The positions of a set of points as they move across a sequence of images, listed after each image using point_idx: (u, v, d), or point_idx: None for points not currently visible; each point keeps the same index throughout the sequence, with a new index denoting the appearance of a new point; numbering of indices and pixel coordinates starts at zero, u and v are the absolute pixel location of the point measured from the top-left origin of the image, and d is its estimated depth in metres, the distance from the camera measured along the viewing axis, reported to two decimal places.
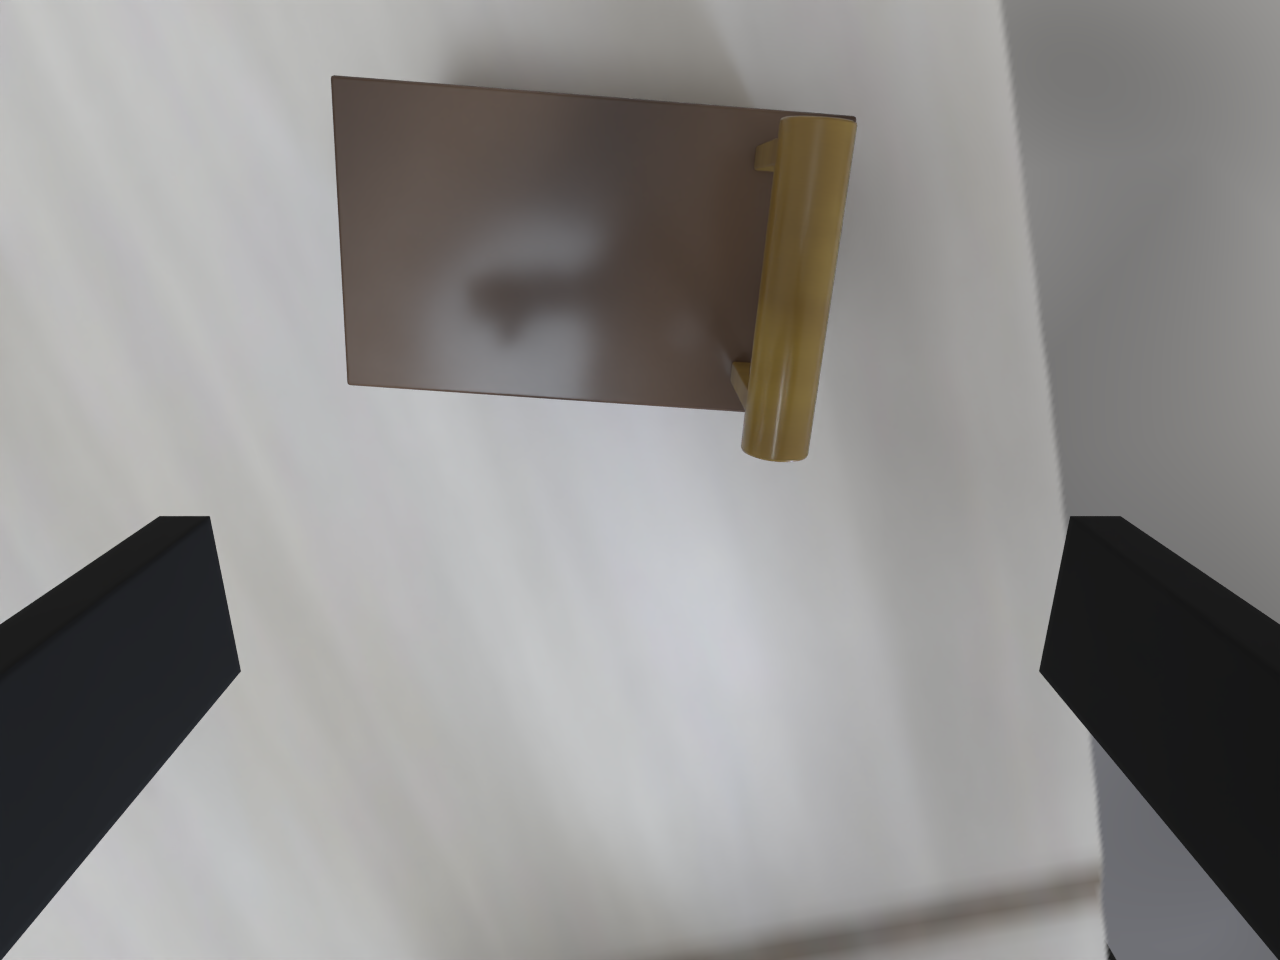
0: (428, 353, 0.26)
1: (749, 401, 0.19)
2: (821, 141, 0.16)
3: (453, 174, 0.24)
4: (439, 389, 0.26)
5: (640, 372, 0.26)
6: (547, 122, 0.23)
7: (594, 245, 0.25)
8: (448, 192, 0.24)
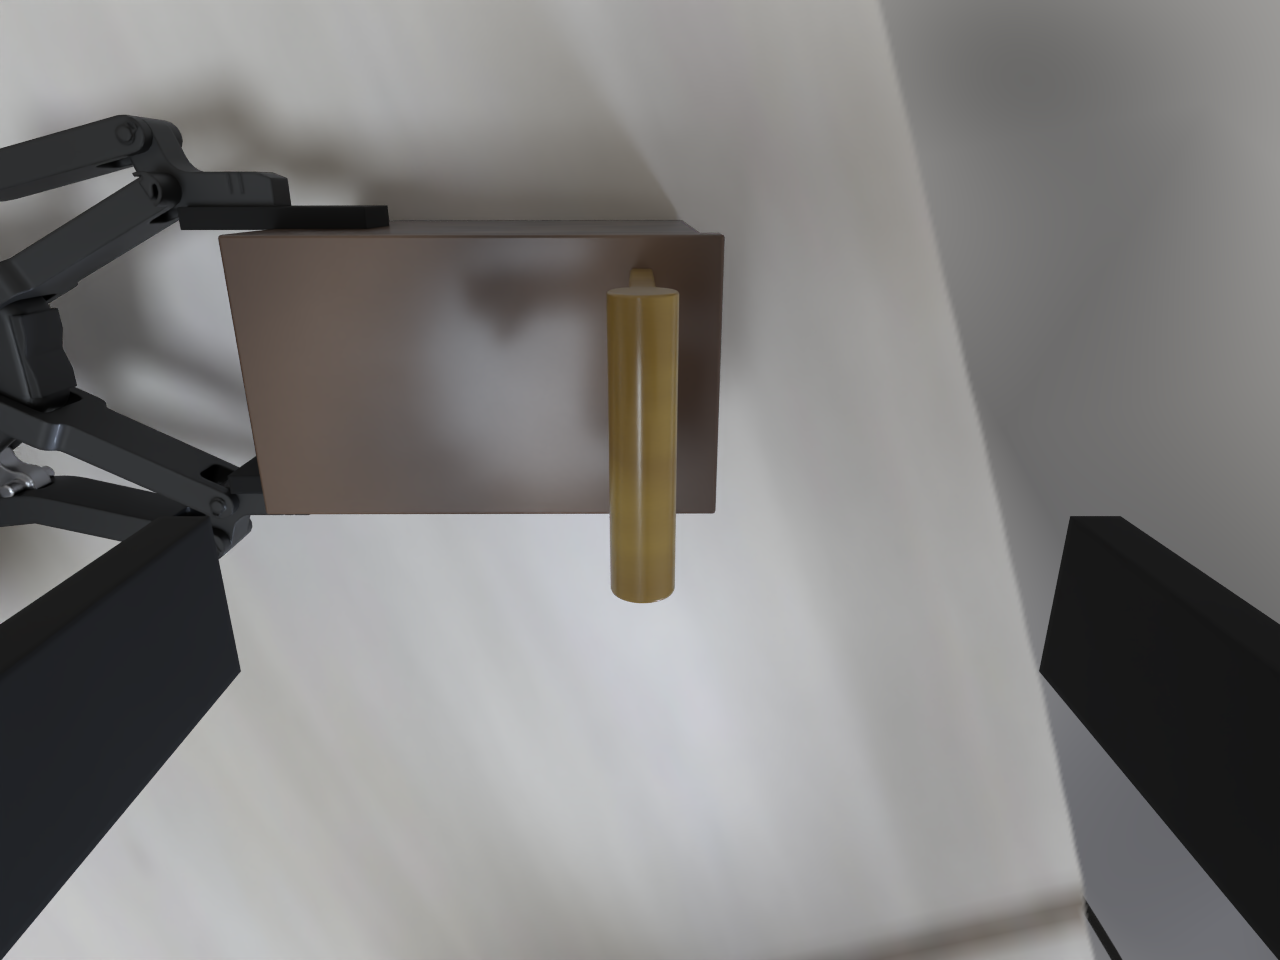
0: (339, 480, 0.27)
1: (611, 546, 0.20)
2: (641, 317, 0.17)
3: (344, 316, 0.25)
4: (354, 512, 0.27)
5: (543, 484, 0.27)
6: (427, 262, 0.24)
7: (486, 371, 0.26)
8: (340, 333, 0.25)
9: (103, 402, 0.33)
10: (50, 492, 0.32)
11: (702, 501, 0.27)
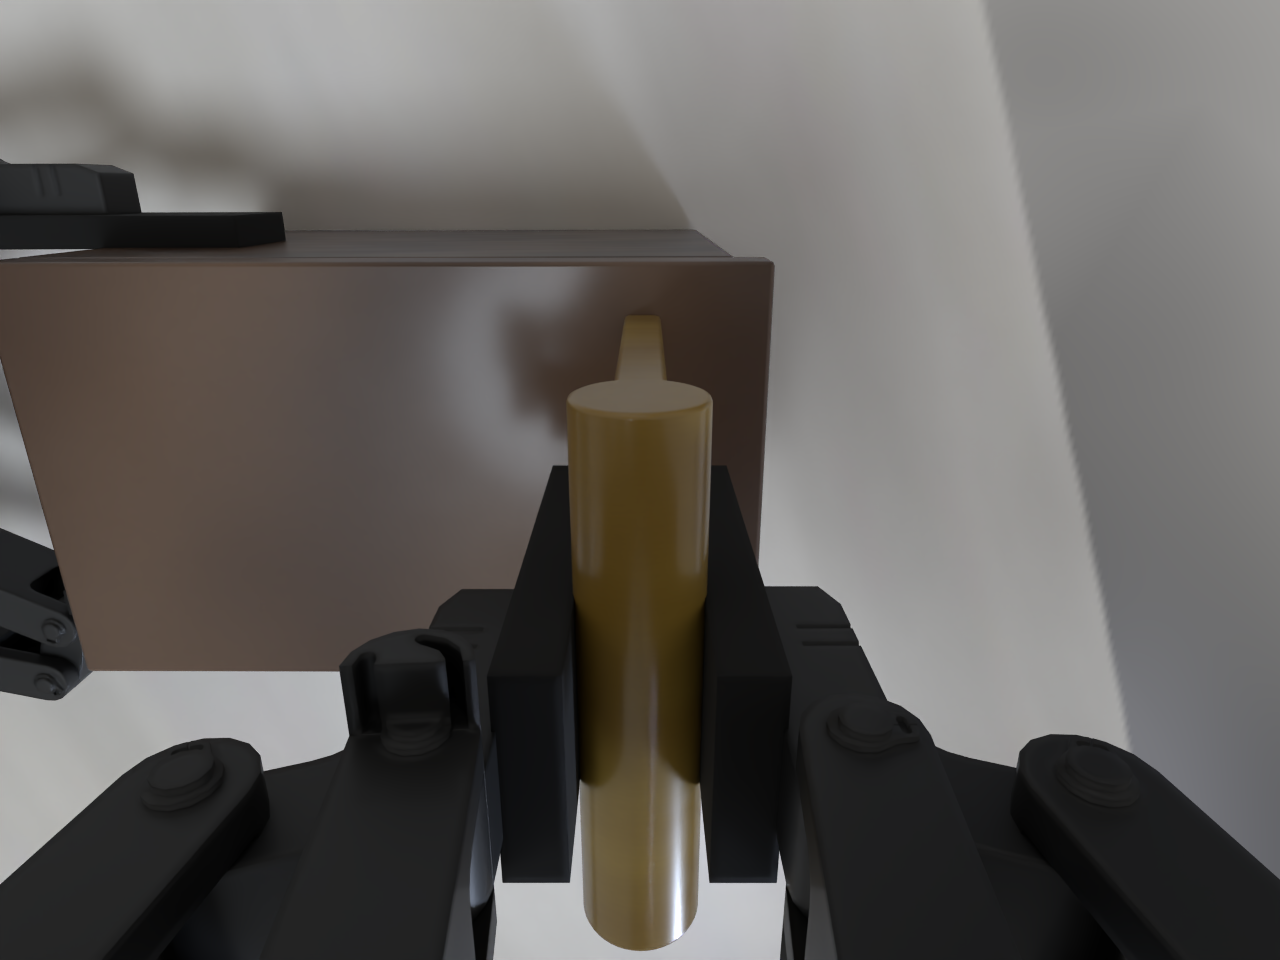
0: (191, 625, 0.18)
1: (582, 844, 0.11)
2: (635, 456, 0.08)
3: (180, 387, 0.16)
4: (216, 669, 0.18)
5: None
6: (305, 305, 0.16)
7: (403, 469, 0.17)
8: (177, 413, 0.16)
9: None
10: None
11: None
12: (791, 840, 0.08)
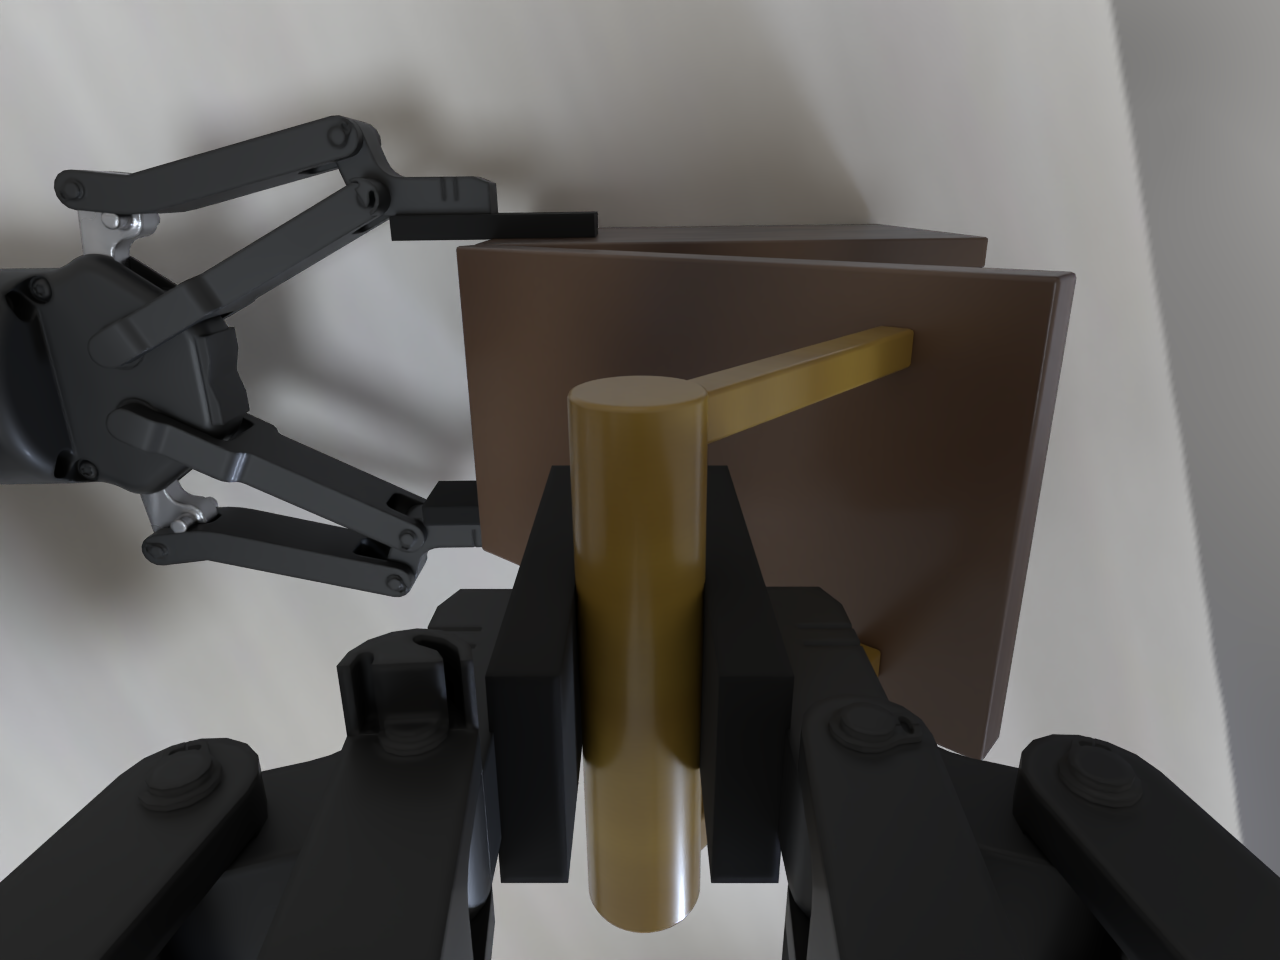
0: None
1: None
2: (589, 443, 0.09)
3: (547, 349, 0.21)
4: None
5: None
6: (625, 292, 0.18)
7: None
8: (543, 369, 0.21)
9: (274, 427, 0.30)
10: (223, 526, 0.30)
11: (960, 734, 0.16)
12: (793, 840, 0.08)
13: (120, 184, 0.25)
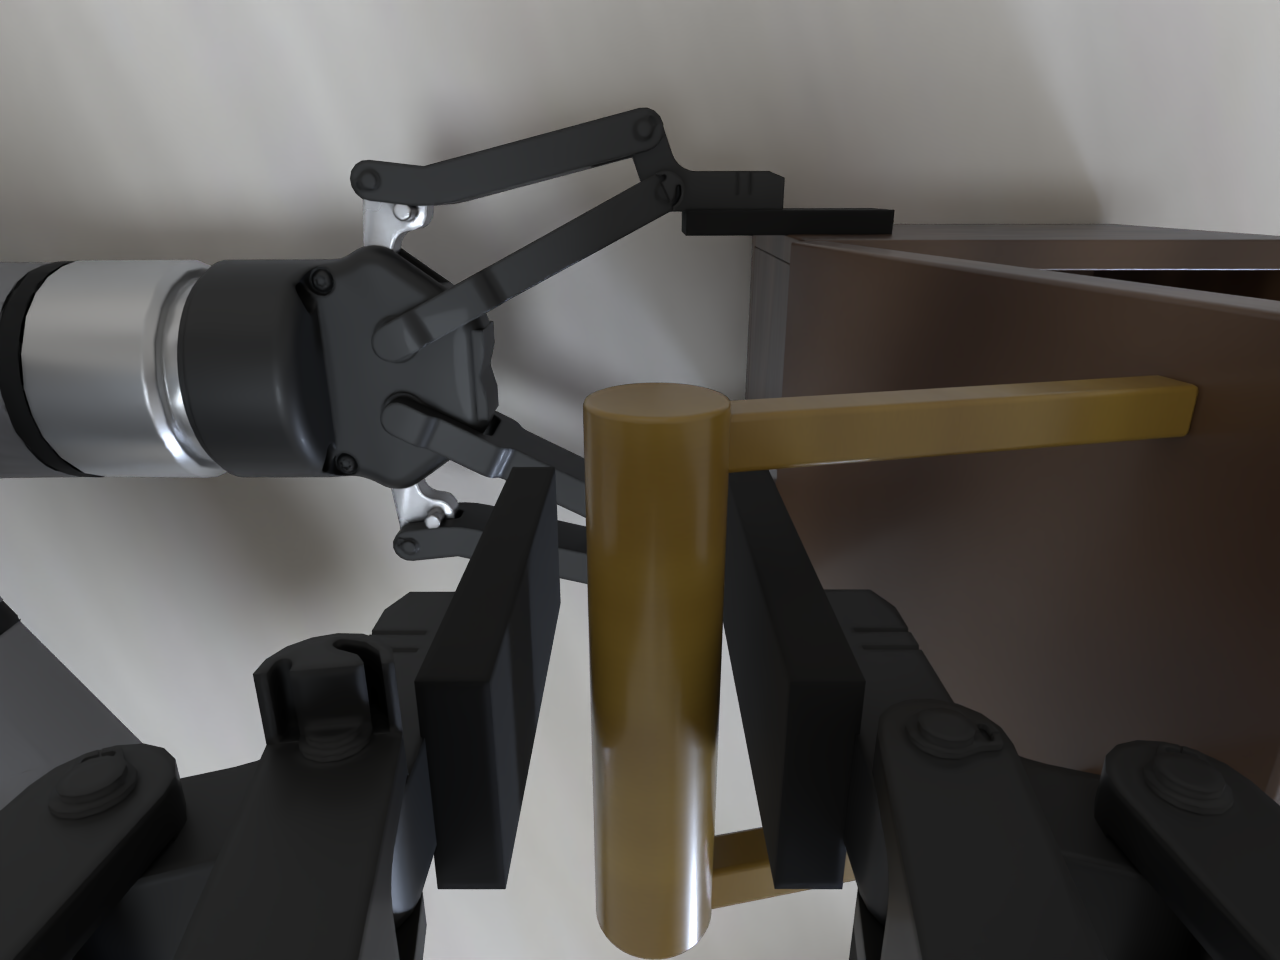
0: (810, 545, 0.22)
1: None
2: None
3: (841, 354, 0.19)
4: None
5: (956, 694, 0.16)
6: (910, 301, 0.16)
7: (933, 481, 0.16)
8: (836, 374, 0.20)
9: (516, 423, 0.30)
10: (472, 522, 0.29)
11: None
12: (865, 843, 0.08)
13: (417, 175, 0.25)
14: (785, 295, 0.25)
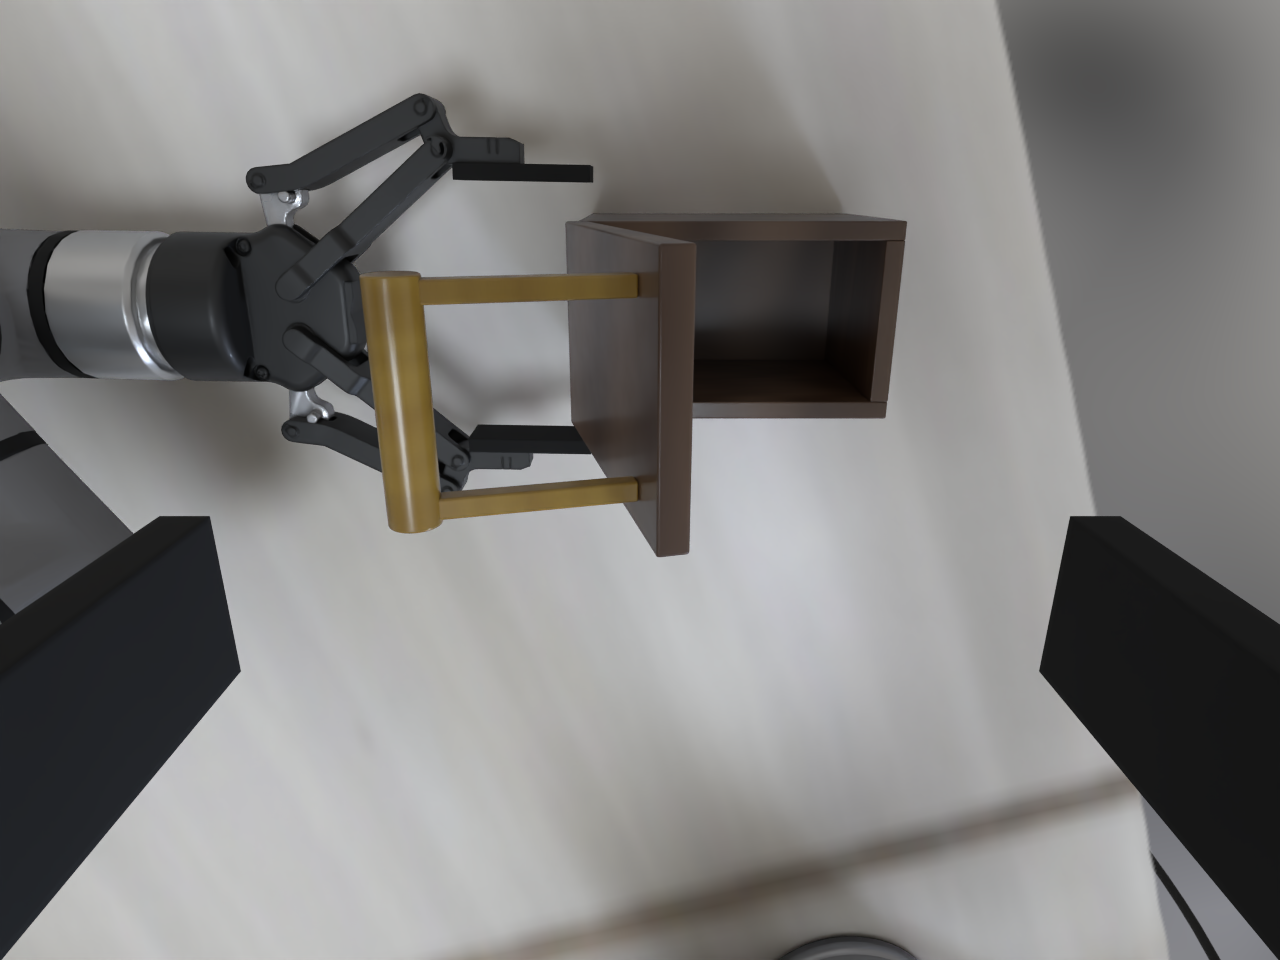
0: (580, 411, 0.35)
1: None
2: None
3: None
4: None
5: (614, 463, 0.29)
6: (593, 251, 0.30)
7: (603, 349, 0.29)
8: (580, 300, 0.33)
9: None
10: (339, 425, 0.43)
11: (652, 538, 0.24)
12: None
13: (287, 170, 0.38)
14: None
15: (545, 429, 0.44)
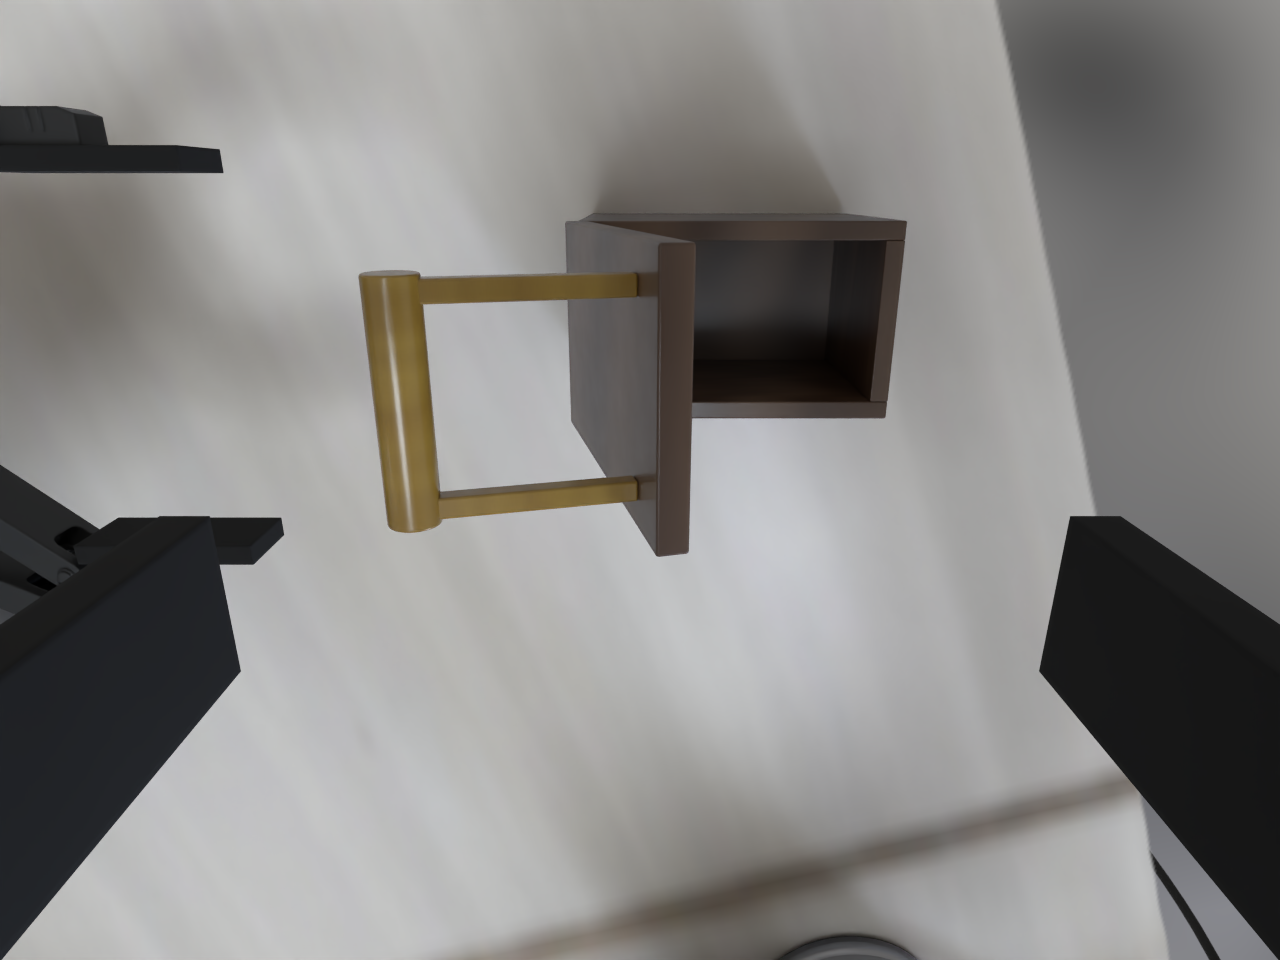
0: (580, 411, 0.35)
1: None
2: None
3: None
4: None
5: (614, 463, 0.29)
6: (592, 250, 0.30)
7: (603, 348, 0.29)
8: (580, 299, 0.33)
9: None
10: None
11: (652, 537, 0.24)
12: None
13: None
14: None
15: None
